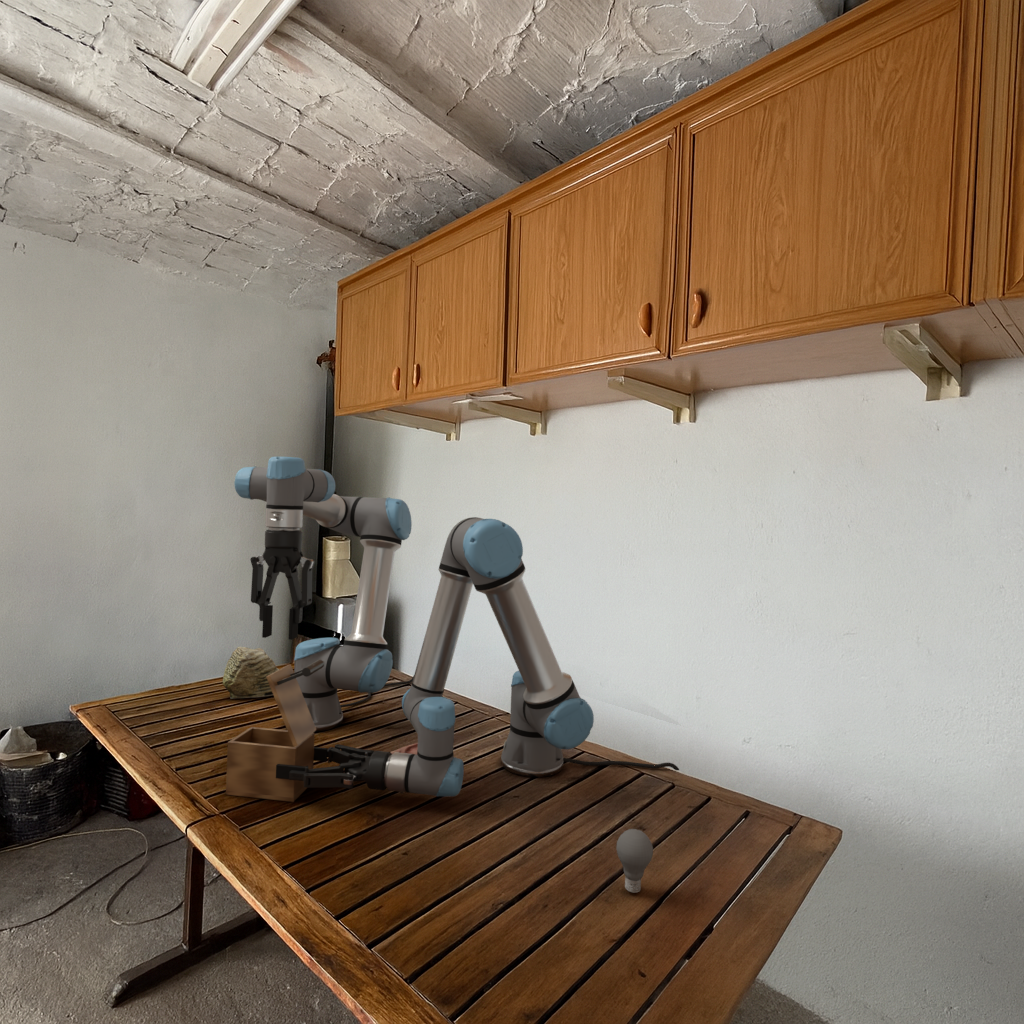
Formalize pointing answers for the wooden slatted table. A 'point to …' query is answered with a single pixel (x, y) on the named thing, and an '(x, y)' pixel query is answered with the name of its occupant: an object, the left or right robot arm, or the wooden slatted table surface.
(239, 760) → the chest
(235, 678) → the fossil
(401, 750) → the anatomical model
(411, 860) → the wooden slatted table surface
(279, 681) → the lid
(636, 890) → the light bulb
